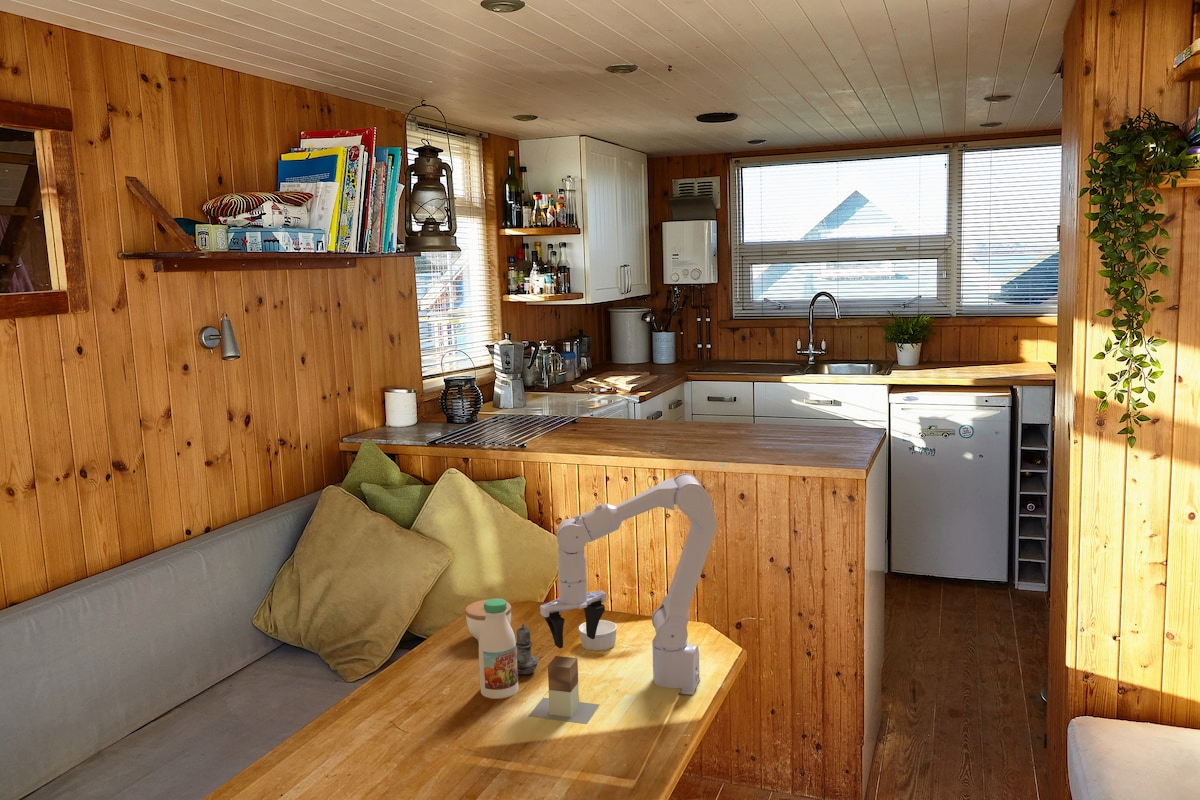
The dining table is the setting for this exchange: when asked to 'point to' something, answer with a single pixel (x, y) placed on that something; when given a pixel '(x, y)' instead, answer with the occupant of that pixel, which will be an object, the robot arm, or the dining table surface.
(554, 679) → the walnut block
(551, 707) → the sage block
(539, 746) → the dining table surface
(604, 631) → the ramekin
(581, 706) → the plate
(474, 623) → the lidded jar
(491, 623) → the milk bottle
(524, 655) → the grey chess piece
